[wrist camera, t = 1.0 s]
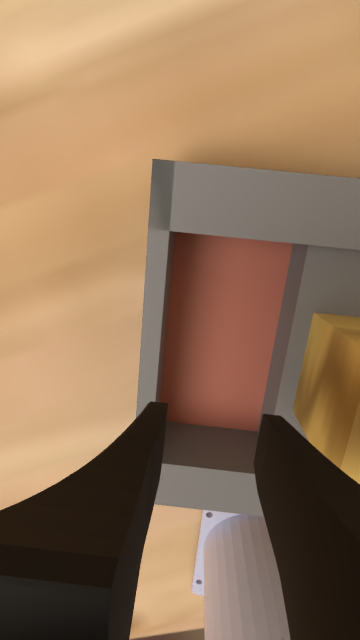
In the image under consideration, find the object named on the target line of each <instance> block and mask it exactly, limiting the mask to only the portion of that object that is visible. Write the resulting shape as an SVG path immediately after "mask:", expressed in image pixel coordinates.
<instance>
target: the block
mask: <svg viewBox="0 0 360 640" xmlns="http://www.w3.org/2000/svg"><path fill="white" fill-rule="evenodd" d="M292 411H293V412H294V414H295V416H296V418H297V420H298V422H299V424H300V426H301V428H302V430H303V431H304V433H305V435H306V437H307V439H308V441H309V442H310V443H311V444H312V445H313V446H314V447H315V448H316V449H318V450H319V451H320V452H321V453H322V454H323V455H324V456H325V457H327V458H328V459H329V460H330V461H331V462H332V463H334V464H335V465H336V466H337V467H339V468H340V469H341V470H342V471H343V472H345V473H346V474H347V475H348V476H350V477H351V478H352V479H354V480H355V481H356V482H357V483H359V484H360V317H352V316H342V315H332V314H323V313H314V314H313V318H312V323H311V328H310V332H309V337H308V341H307V346H306V350H305V355H304V360H303V364H302V369H301V373H300V378H299V382H298V387H297V392H296V396H295V401H294V405H293V410H292Z"/></svg>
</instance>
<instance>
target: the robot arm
mask: <svg viewBox="0 0 360 640" xmlns="http://www.w3.org/2000/svg"><path fill="white" fill-rule="evenodd" d="M167 409H168V403H161V402H152V401H151V402H149V403H148V404H147V405H146V407H145V408H144V409H143V411H142V412H141V413H140V414H139V416H138V417H137V418H136V419H135V420H134V421H133V423H132V424H131V425H130V426H129V427H128V428H127V429H126V430H125V431H124V432H123V433H122V434H121V435H120V436H119V437H118V438H117V439H116V440H115V441H114V442H113V443H112V444H111V445H109V446H108V447H107V448H106V449H105V450H104V451H103V452H101V453H100V454H99V455H98V456H96V457H95V458H94V459H93V460H91V461H90V462H89V463H87V464H86V465H85V466H83V467H82V468H80V469H79V470H77V471H76V472H74V473H73V474H71V475H69V476H68V477H66V478H65V479H63V480H62V481H60V482H58V483H56V484H55V485H53V486H51V487H49V488H47V489H45V490H44V491H42V492H40V493H38V494H36V495H34V496H32V497H30V498H28V499H26V500H23V501H21V502H19V503H17V504H15V505H12V506H10V507H7V508H5V509H3V510H0V640H129V636H130V629H131V623H132V616H133V609H134V603H135V596H136V590H137V583H138V577H139V570H140V564H141V558H142V553H143V548H144V544H145V540H146V535H147V531H148V527H149V523H150V519H151V515H152V511H153V506H154V502H155V498H156V494H157V490H158V485H159V481H160V474H161V467H162V459H163V451H164V441H165V430H166V420H167ZM253 464H254V471H255V479H256V486H257V492H258V496H259V500H260V504H261V507H262V511H263V515H264V517H261V516H252V515H243V514H235V513H226V512H218V511H209V510H203V512H202V519H201V526H200V533H199V540H198V547H197V554H196V560H195V567H194V574H193V581H192V592H193V593H194V594H196V595H203V596H204V622H205V640H360V484H359V483H357V482H356V481H355V480H354V479H352V478H351V477H350V476H348V475H347V474H346V473H345V472H343V471H342V470H341V469H340V468H339V467H337V466H336V465H335V464H334V463H332V462H331V461H330V460H329V459H328V458H327V457H325V456H324V455H323V454H322V453H321V452H320V451H319V450H318V449H316V448H315V447H314V446H313V445H312V444H311V443H310V442H309V441H308V440H307V439H306V438H304V437H303V436H302V435H301V434H300V433H299V432H298V431H297V430H296V429H295V428H294V427H293V426H292V425H291V424H290V423H289V422H287V421H286V420H285V419H284V418H283V417H282V416H280V415H271V414H263V415H262V421H261V426H260V431H259V436H258V442H257V447H256V452H255V457H254V463H253ZM208 512H211V513H208Z"/></svg>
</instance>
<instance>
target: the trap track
mask: <svg viewBox="0 0 360 640" xmlns="http://www.w3.org/2000/svg"><path fill="white" fill-rule="evenodd" d="M314 313H323V314H332V315H342V316H352V317H360V178H349V177H339V176H328V175H318V174H307V173H297V172H286V171H276V170H265V169H254V168H244V167H233V166H223V165H212V164H202V163H191V162H181V161H170V160H160V159H153V163H152V178H151V194H150V209H149V225H148V240H147V256H146V271H145V287H144V302H143V318H142V333H141V349H140V364H139V380H138V395H137V411H136V418H137V417H138V416H139V414H140V413H141V412H142V411H143V409H144V408H145V407H146V405H147V404H148V403H149V402H151V401H152V402H161V403H168V409H167V420H166V430H165V441H164V451H163V459H162V467H161V474H160V481H159V485H158V490H157V494H156V498H155V502H154V504H157V505H166V506H175V507H183V508H192V509H200V510H209V511H218V512H226V513H235V514H243V515H252V516H261V517H264V515H263V511H262V507H261V504H260V500H259V496H258V492H257V486H256V479H255V471H254V464H253V463H254V457H255V452H256V447H257V442H258V436H259V431H260V426H261V421H262V415H263V414H271V415H280V416H282V417H283V418H284V419H285V420H286V421H287V422H289V423H290V424H291V425H292V426H293V427H294V428H295V429H296V430H297V431H298V432H299V433H300V434H301V435H302V436H303V437H304V438H306V439H307V437H306V435H305V433H304V431H303V430H302V428H301V426H300V424H299V422H298V420H297V418H296V416H295V414H294V412H293V411H292V410H293V405H294V401H295V396H296V392H297V387H298V382H299V378H300V373H301V369H302V364H303V360H304V355H305V350H306V346H307V341H308V337H309V332H310V328H311V323H312V318H313V314H314ZM307 440H308V439H307Z"/></svg>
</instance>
